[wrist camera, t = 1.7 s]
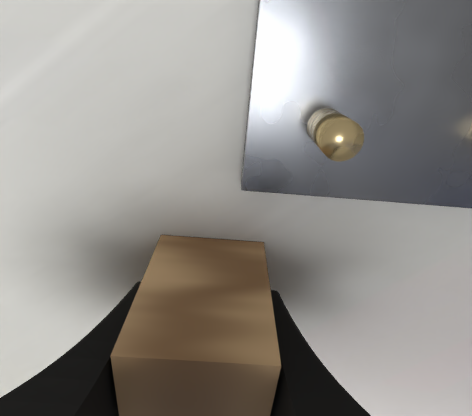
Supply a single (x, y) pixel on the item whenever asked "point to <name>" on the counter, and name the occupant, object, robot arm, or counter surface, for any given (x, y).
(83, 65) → the counter surface
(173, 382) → the oak block
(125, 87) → the counter surface
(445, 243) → the counter surface
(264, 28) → the plate
